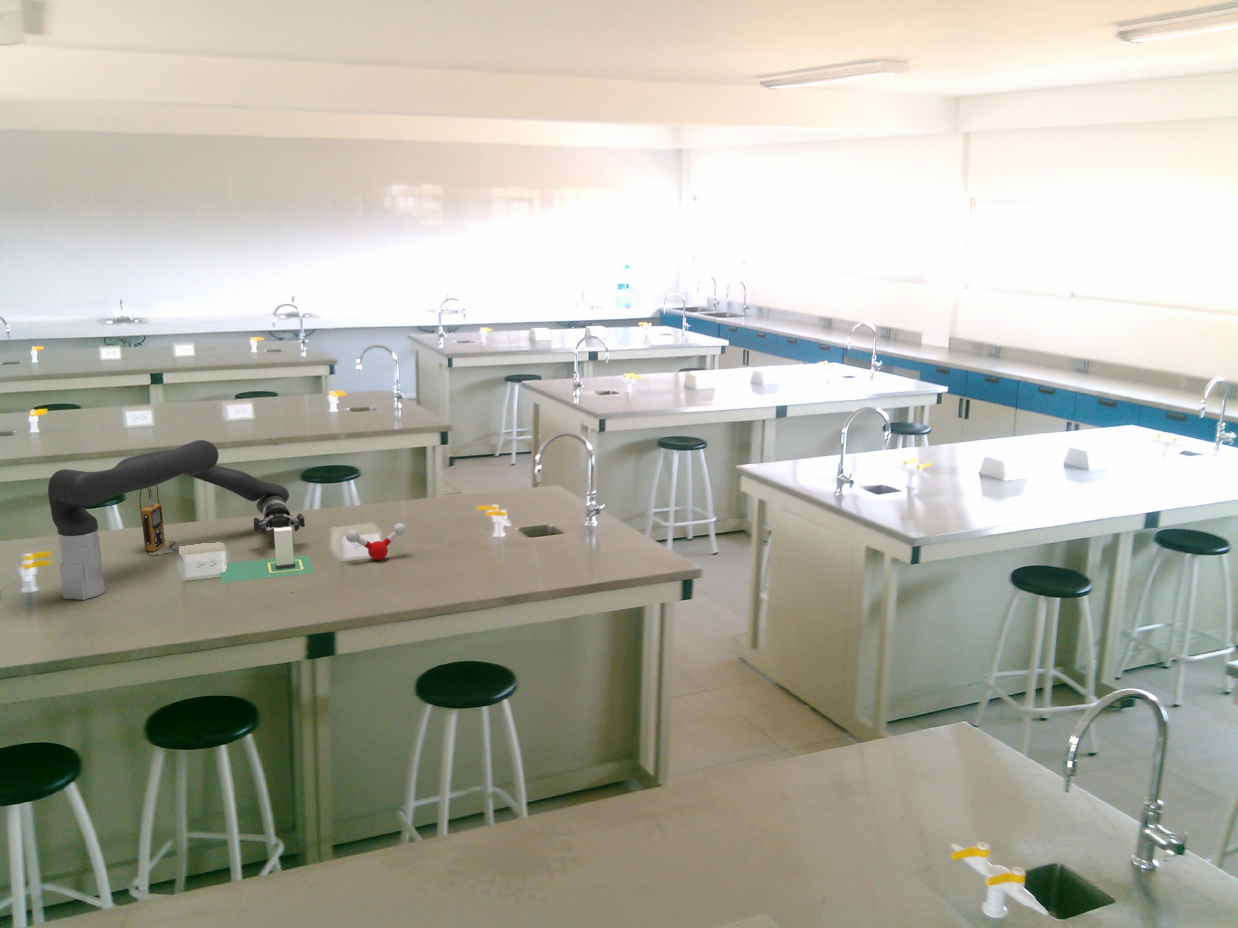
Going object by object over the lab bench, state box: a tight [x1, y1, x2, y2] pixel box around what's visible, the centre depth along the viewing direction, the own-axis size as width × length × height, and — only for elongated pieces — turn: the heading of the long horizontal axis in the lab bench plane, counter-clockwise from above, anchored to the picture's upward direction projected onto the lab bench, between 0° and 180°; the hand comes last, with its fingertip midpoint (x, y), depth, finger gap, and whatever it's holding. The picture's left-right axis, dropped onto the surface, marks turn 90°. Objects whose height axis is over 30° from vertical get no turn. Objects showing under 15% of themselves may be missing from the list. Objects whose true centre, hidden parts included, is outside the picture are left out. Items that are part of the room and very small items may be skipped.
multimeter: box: [139, 484, 178, 557], centre depth 296 cm, size 15×10×20 cm
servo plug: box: [273, 527, 295, 566], centre depth 280 cm, size 3×5×10 cm, turn 112°
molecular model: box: [345, 522, 407, 561], centre depth 291 cm, size 18×6×10 cm, turn 120°
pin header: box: [275, 562, 295, 569], centre depth 281 cm, size 3×5×4 cm
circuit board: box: [220, 554, 315, 584], centre depth 279 cm, size 24×16×2 cm, turn 113°
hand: (280, 529), depth 289 cm, fingers open, 8 cm apart
